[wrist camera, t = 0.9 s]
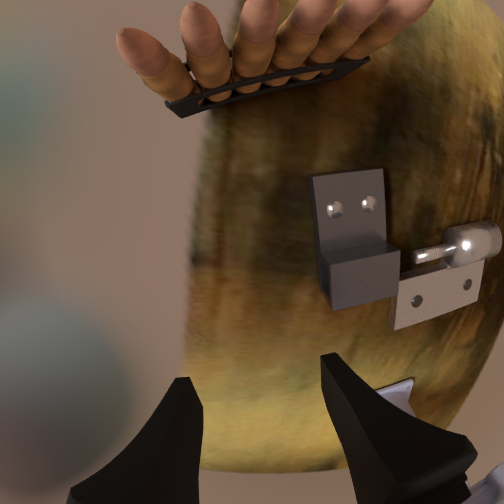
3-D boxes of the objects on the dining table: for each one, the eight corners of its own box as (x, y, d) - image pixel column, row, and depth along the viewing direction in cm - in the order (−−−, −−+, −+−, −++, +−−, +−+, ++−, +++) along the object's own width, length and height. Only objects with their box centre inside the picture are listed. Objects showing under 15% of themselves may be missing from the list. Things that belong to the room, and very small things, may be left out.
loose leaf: (378, 275, 21) (398, 294, 18) (319, 288, 21) (332, 311, 18) (374, 167, 18) (398, 171, 15) (307, 175, 18) (322, 181, 15)
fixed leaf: (470, 295, 22) (489, 310, 20) (388, 322, 23) (404, 344, 20) (479, 215, 20) (503, 225, 17) (392, 232, 20) (414, 246, 17)
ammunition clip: (333, 54, 15) (441, -26, 4) (341, 78, 16) (464, 20, 5) (172, 93, 16) (82, 23, 5) (180, 118, 16) (93, 78, 5)
